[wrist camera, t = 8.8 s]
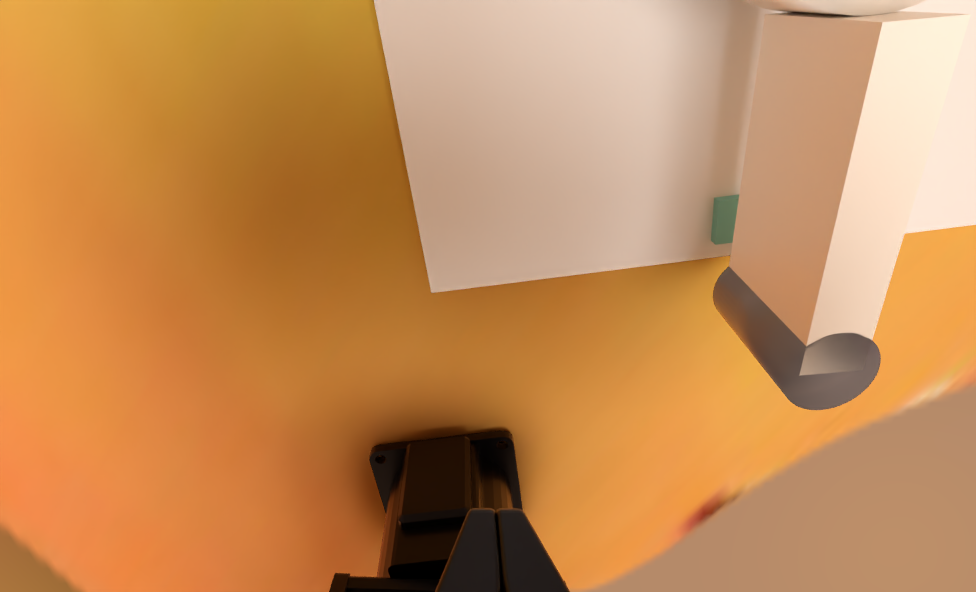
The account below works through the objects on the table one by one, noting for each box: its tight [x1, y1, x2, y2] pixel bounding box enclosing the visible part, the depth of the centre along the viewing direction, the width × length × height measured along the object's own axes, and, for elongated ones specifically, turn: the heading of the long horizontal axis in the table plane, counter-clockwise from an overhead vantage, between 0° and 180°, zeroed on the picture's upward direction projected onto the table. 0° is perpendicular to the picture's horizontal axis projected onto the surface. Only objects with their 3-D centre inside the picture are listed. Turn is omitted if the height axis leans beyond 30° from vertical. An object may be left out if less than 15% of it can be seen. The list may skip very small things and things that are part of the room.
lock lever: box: [713, 0, 971, 410], centre depth 13 cm, size 15×6×4 cm, turn 5°
